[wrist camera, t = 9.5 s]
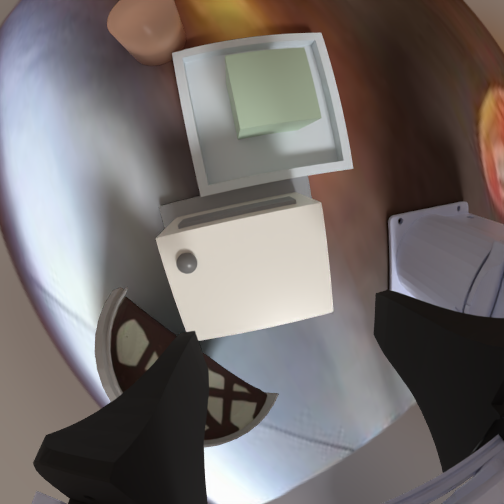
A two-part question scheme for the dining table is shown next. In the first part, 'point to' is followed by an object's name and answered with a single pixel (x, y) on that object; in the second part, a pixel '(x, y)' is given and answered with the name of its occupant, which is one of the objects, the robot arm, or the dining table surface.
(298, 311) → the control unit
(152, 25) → the terracotta part
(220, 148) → the tray
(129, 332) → the food container
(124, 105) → the dining table surface
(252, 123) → the green part
